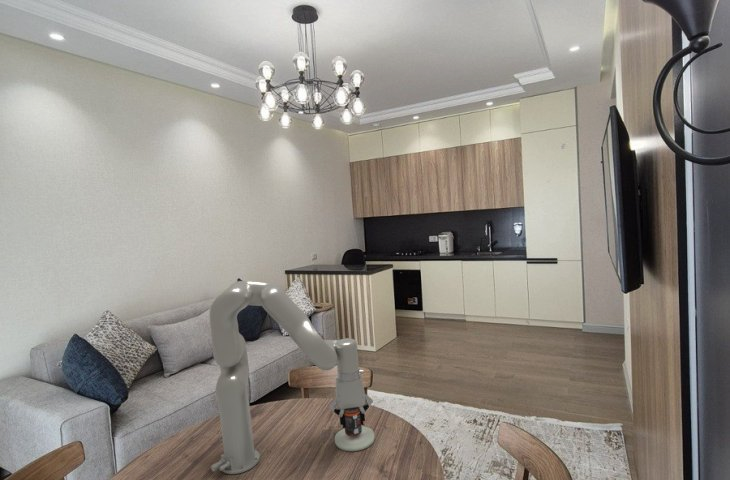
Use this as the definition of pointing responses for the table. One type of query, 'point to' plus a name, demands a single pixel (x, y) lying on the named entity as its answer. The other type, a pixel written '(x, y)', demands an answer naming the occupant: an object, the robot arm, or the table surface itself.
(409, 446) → the table surface
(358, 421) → the supplement bottle
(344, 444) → the dish
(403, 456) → the table surface
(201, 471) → the table surface
